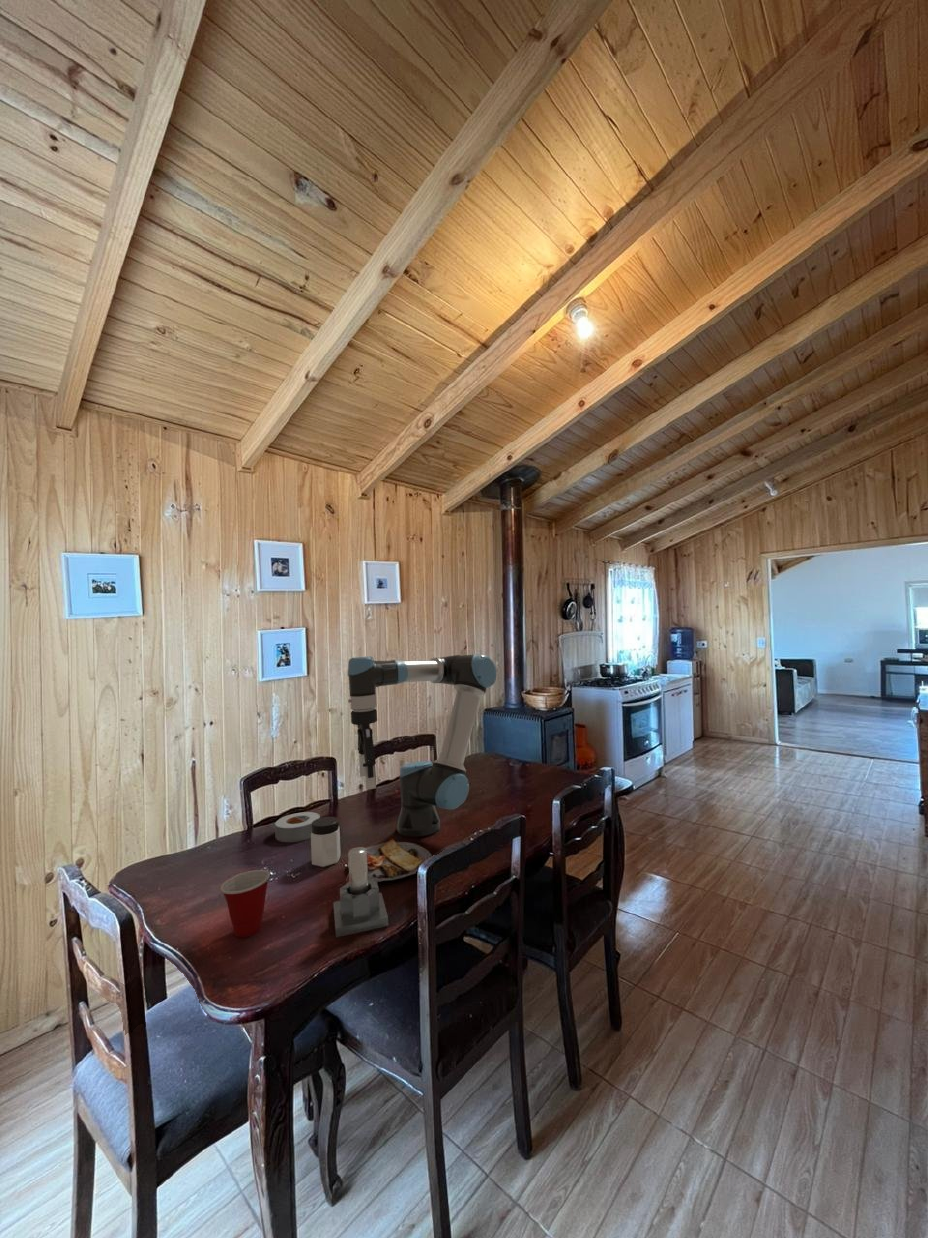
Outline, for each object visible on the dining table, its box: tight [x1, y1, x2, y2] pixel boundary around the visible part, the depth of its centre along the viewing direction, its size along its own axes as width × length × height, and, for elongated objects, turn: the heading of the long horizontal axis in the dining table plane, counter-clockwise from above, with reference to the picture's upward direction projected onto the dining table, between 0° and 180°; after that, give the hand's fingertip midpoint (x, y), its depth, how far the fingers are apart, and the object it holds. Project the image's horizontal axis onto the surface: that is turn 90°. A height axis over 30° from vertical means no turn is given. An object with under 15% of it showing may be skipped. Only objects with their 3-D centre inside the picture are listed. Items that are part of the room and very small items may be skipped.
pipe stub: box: [347, 846, 369, 895], centre depth 119 cm, size 4×4×14 cm
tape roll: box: [274, 811, 321, 843], centre depth 174 cm, size 15×15×5 cm
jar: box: [310, 816, 342, 868], centre depth 151 cm, size 9×8×12 cm
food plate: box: [347, 838, 432, 883], centre depth 146 cm, size 25×23×4 cm
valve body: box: [332, 873, 389, 938], centre depth 121 cm, size 12×16×7 cm
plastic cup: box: [220, 869, 271, 938], centre depth 116 cm, size 11×11×12 cm
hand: (367, 782), depth 142 cm, fingers open, 13 cm apart
